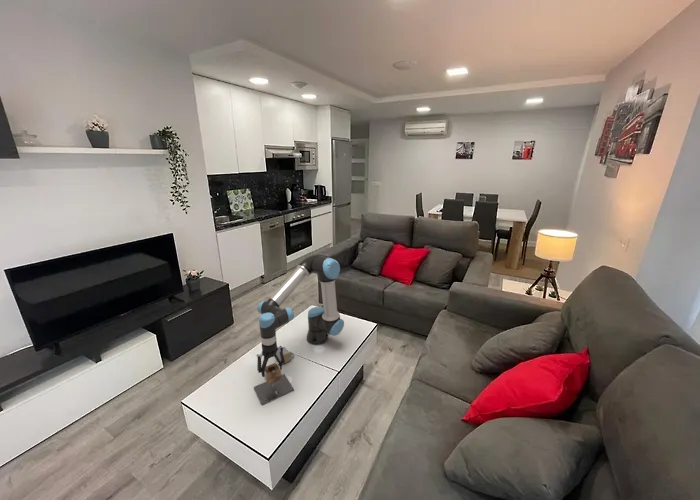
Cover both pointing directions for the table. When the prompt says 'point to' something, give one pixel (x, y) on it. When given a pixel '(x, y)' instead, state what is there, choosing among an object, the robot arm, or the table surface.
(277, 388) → the metal panel
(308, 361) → the table surface
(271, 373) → the brown cardboard box
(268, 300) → the robot arm
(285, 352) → the ceramic mug
